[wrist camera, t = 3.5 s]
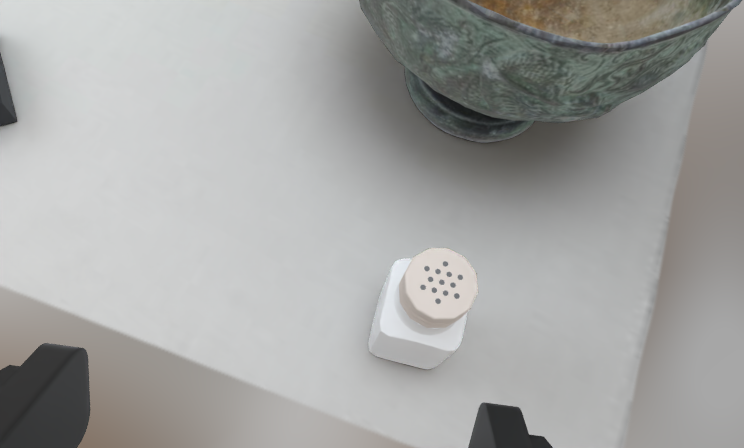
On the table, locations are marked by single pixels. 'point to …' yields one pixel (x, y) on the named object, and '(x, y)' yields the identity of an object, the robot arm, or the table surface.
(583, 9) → the bowl
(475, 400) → the table surface
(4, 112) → the kitchen scale
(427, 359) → the salt shaker
